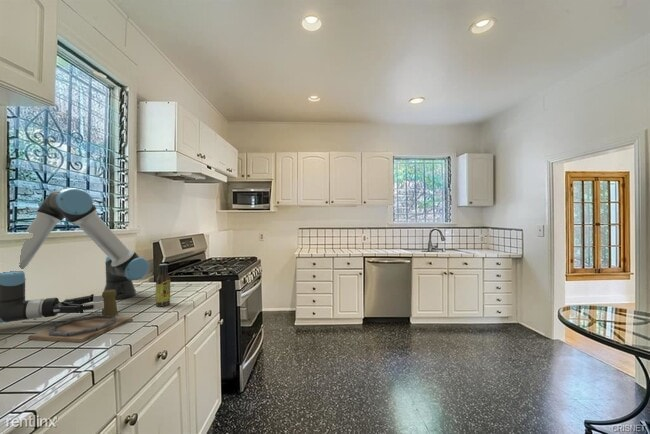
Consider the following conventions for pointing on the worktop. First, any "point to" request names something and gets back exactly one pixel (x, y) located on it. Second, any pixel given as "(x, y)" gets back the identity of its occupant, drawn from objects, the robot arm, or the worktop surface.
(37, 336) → the walnut board
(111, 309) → the cork
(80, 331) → the steel ring
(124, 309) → the worktop surface
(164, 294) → the sauce bottle
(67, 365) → the worktop surface
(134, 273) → the robot arm
